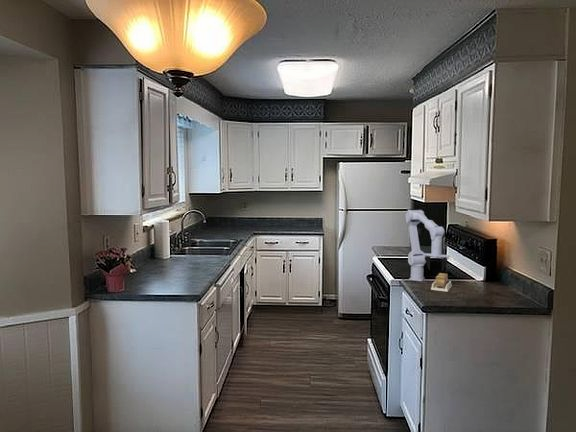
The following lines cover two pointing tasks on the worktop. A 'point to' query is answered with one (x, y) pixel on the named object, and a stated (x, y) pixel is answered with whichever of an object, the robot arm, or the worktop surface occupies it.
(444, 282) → the golden brown block
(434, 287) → the peg base
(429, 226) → the robot arm
